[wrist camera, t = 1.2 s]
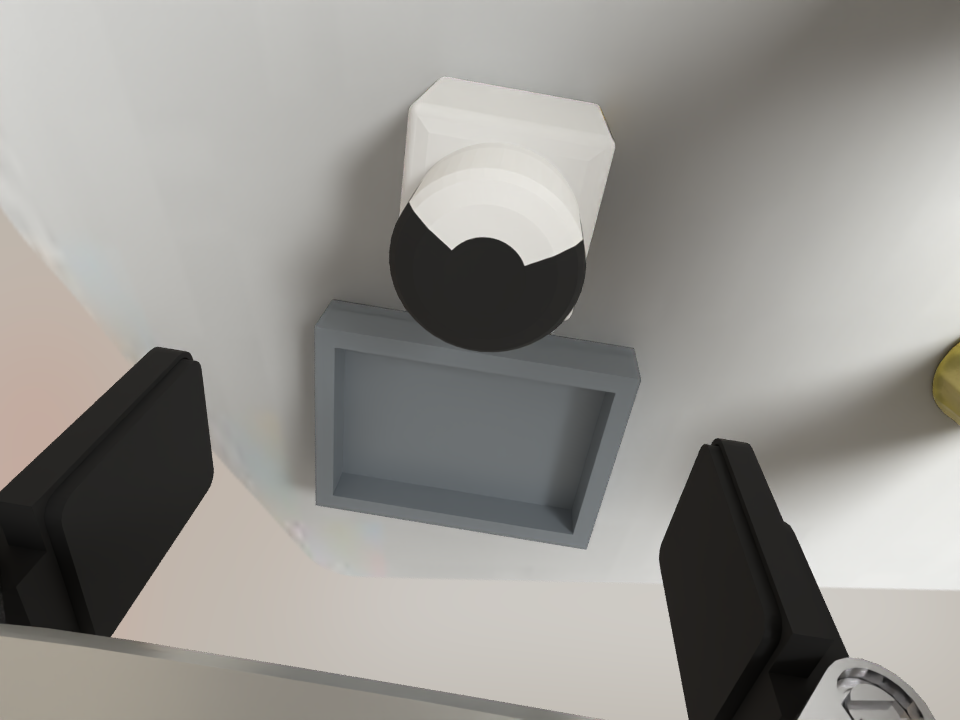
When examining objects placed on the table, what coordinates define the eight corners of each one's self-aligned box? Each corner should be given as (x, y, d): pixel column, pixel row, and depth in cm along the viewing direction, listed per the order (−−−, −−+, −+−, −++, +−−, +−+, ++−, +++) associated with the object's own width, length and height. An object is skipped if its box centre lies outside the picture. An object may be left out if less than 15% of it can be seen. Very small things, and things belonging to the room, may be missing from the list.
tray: (633, 348, 33) (641, 379, 30) (583, 512, 39) (586, 549, 37) (332, 299, 33) (314, 326, 31) (330, 471, 39) (315, 505, 37)
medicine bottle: (565, 257, 31) (574, 396, 21) (421, 231, 31) (358, 357, 21) (602, 103, 27) (636, 179, 17) (438, 73, 27) (373, 132, 17)
